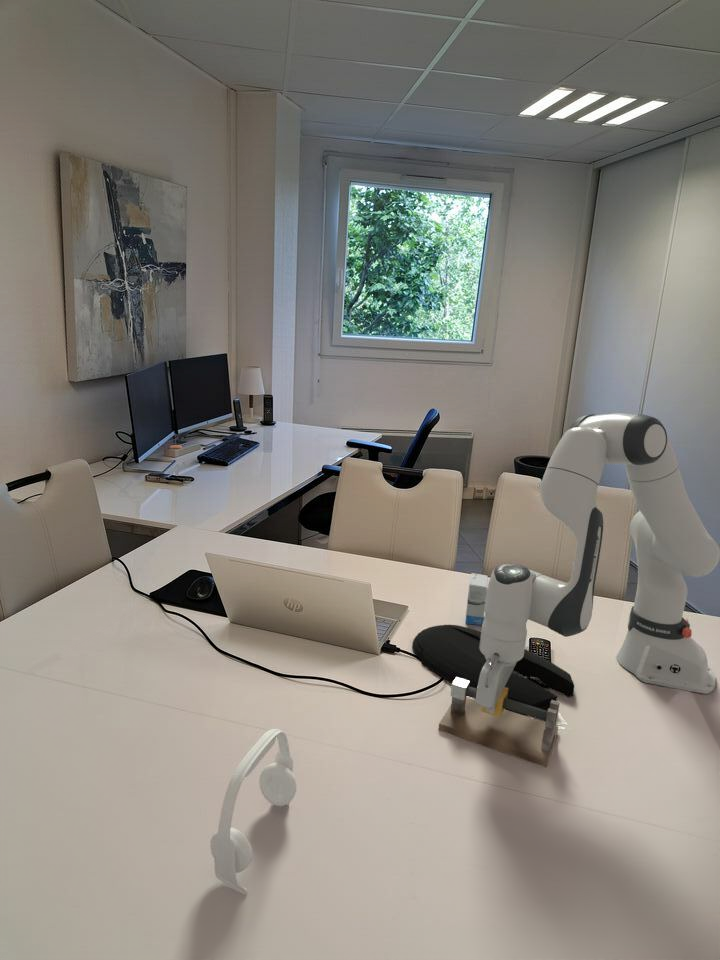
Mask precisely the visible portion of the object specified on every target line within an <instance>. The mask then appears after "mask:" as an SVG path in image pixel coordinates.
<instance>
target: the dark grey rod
mask: <svg viewBox="0 0 720 960" xmlns="http://www.w3.org/2000/svg"><path fill="white" fill-rule="evenodd" d="M476 693H477V689H476V688H473V687H470V686H468V687H467V689H466V696H467V697H468V698H471V699H474V700H476ZM503 708H506V709H509V710H512V711H515V712H518V713H521V714H524V715H527V717H530V718H533V719H536V720H539V721H542V722H546V717H547V711H546V710H542V709H539V708H536V707H533V706H530V705H527V704H523V703H520V702H517V701H514V700H511V699H508V698H504V700H503ZM556 719H557V714H556ZM556 719H555V723H556ZM557 720H558V719H557Z"/></svg>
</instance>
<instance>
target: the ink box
mask: <svg viewBox="0 0 720 960" xmlns="http://www.w3.org/2000/svg"><path fill="white" fill-rule="evenodd" d="M488 578H489V577H488V575H486V574H481V573H479V574H478V573H474V572H472V573H470V577H469V579H470V580H469V584H468V585H469V586H468V594H467V600H466V601H467V603H466V610H465V611H466V612H465V624H467V625H475V626H481V627H482V624H483V621H484V619H485V610H484V606H485V599H486V593H487V588H488V582H489V581H488Z"/></svg>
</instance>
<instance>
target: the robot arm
mask: <svg viewBox="0 0 720 960" xmlns="http://www.w3.org/2000/svg"><path fill="white" fill-rule="evenodd" d="M607 464H608V465H624V469H625V473H626V477H627V480H628V484H629V487H630V491H631V494H632V497H633V501H634V503H635V505H636V508H637V509H638V512H636V513H635V514H634V515H633V517H632V519H631V521H630V523H629V532H630V535H631V537H632V539H633V543H634V546H635V553H636V561H637V586H636V592H635V596H634V603H633V605H632V607H631V609H630V611H629V614H628V619H627V620H628V622H627V633H626V635H625V638H624V641H623V643H622V645H621V647H620V649H619V650H618V652H617V654H616V659H617V661H618V663H619V665H621V666H622V667H623V668H624V669H626V670H627V671H629V672H630V673H632V674H633V675H635V677H637V679H638V680H639V681H640V682H642V683H647V684H652V685H656V686H662V687H667V688H673V689H678V690H683V691H690V692H695V693H700V694H705V695H707V694H710V693H712V692H713V691H714V690H715V687H716V675H715V673H714V671H713V669H712V668H711V666H709V665H708V658H707V654H706V652H705V650H704V648H703V646H701V645H700V644H699V643H698V642H697V641H696V640H694V639H693V637H692V636H693V635H692V634H693V633H692V629H691V628H690V627H691V624H690V622H689V619H688V618H686V619H685V618H684V617H683V615H684V610H685V606H686V602H687V595H688V587H687V583H686V581H685V580H684V576H683V575H686V576H689V577H692V578H701V577H705V576H706V575H708V574H710V573H711V572H712V571H714V570H715V569H716V567H717V566H718V564H719V561H720V547H719V545H718V543H717V542H716V541H715V539H713V538H712V536H711V535H710V534H709V532H708V531H707V529H706V527H705V525H704V524H703V522H702V520H701V519H700V516H699V514H698V513H697V511H696V509H695V507H694V505H693V503H692V502H691V499H690V498H689V495H688V493H687V490H686V488H685V484H684V480H683V477H682V473H681V469H680V466H679V463H678V459H677V456H676V453H675V450H674V447H673V445H672V443H671V441H670V439H669V437H668V433H667V430H666V428H665V426H664V424H663V423H662V422H661V420H659V419H658V418H656V417H655V416H652V415H651V416H650V415H647V414H633V413H632V414H631V413H623V412H622V413H621V412H619V413H618V412H616V413H615V412H614V413H604V414H587V415H583V416H580V417H578V418H577V419H575V420H574V421H573V422H572V424H571V425H570V427H569V429H567V431H565V432H564V434H562V436H561V438H560V439H559V441H558V443H557V445H556V447H555V448H554V450H553V452H552V454H551V457H550V458H549V461H548V463H547V466H546V469H545V472H544V474H543V477H542V478H541V483H540V487H539V494H540V495H539V496H540V499H541V502H542V504H543V506H544V507H545V509H547V511H548V512H549V513H550V514H551V515H553V516H554V518H556V519H557V520H558V521H560V522H561V523H562V524H564V525H565V526H566V527H567V528H568V529H570V531H571V532H572V533H573V535H574V537H575V541H576V542H575V543H576V546H575V552H574V557H573V563H572V569H571V575H570V580H569V581H568V582H565V581H561V580H559V579H555V578H553V577H551V576H547V575H544V574H543V573H540V572H538V571H534V570H531V569H528V568H527V567H526V566H525V565H522V564H520V563H519V564H518V563H514V562H513V563H511V562H508V563H503V564H500V565H498V566H496V567H495V568H494V569H493V570H492V572H491V575H490V578H489V581H488V583H487V593H486V599H485V606H484V610H485V611H484V619H483V624H482V626H481V631H480V632H481V638H480V646H479V648H480V651H481V652H482V654H483V655H485V658H486V660H487V661H486V663H485V664H484V666H483V668H482V670H481V673H480V677H479V682H478V687H477V693H476V699H475V700H476V704H477V705H478V706H481V707H484V708H486V709H485V710H486V711H487V712H489V713H492V714H493V713H494V712H495V709H496V704H497V701H498V699H499V697H500V695H501V693H502V691H503V689H504V687H505V685H506V683H507V681H508V679H509V677H510V675H511V673H512V672H514V671H513V669H514V667H515V665H516V663H517V661H519V660H521V659H522V658H523V656H524V650H525V649H526V644H527V636H528V629H527V623H528V620H529V621H531V622H534V623H536V624H538V625H542V626H543V627H546V628H548V629H549V630H550V631H553V632H555V633H557V634H559V635H561V636H562V637H565V638H566V637H573V636H575V635H579V634H581V633H582V632H584V631H586V630H587V628H588V627H589V625H590V621H591V619H592V617H593V606H594V596H595V595H594V593H595V584H596V579H597V572H598V567H599V562H600V561H599V560H600V556H601V555H600V554H601V550H602V549H601V548H602V541H603V532H604V516H603V513H602V511H601V510H600V509H599V508H598V507H597V506H598V505H597V490H598V488H599V485H600V481H601V479H602V475H603V471H604V468H605V467H604V466H605V465H607Z"/></svg>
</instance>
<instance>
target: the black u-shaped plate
mask: <svg viewBox="0 0 720 960" xmlns="http://www.w3.org/2000/svg"><path fill="white" fill-rule="evenodd" d="M480 638H481V631H480V630H477V629H475V628H474V629H473V628H470V627H466V626H463V625H459V624H442V625H441V624H440V625H434V626H429V627H427V628H425V629H423V630H421V631H420V632H418V633H417V634H416V636H415V637H414V638H413V641H412V646H411V647H412V650H413V653H414V654H415V656H416V657H417V658H418V659H420V660H421V664H422V665H423V666H424V667H425V668H427V670H429V671H431V672H432V673H434V674H435V675H437V676H439V677H440V678H442V679H443V680H445V681H446V682H449V683H450V684H452V683H453V681H454V680H455V678H456V677H458V678H462V679H465V680H468V681H470V685H469V686H470V687H473V688H476V689H477V687H478V682H479V677H480V673H481V670H482V668H483V666H484V664H485V663H486V661H487V660H486V658H485V655H483V654H482V652H481V651H480V648H479V646H480ZM529 676H534V677H537V678H539V679H540V680H541V681H543V683H545V684H546V686H545V687H547V688H549V689H551V690H554V692H555V691H556V692H558V693H559V694H561V695H563V696H566V697H568V698H571V697H573V696H574V690H575V684H574V681H573V678H572V676H571V674H570V673H569V672H567V671H566V670H564V669H563V668H561V667H559V666H558V665H556V664H554V663H553V662H551V661H549V660H547V659H546V658H544V657H541V656H540V655H538V654H536V653H534V652H532V651H530V650H528V649H527V648H525V650H524V656H523V658H522V659H521V660H519V661H517V663H516V665H515V667H514V669H513V671H512V673H511V675H510V677H509V679H508V681H507V683H506V685H505V687H507V688H508V694H507V698H508V699H511V700H514V701H517V702H520V703H523V704H527V705H530V706H533V707H536V708H539V709H542V710H546V711H548V708H550V703H551V700H554V701H558V696H557V695H555V694H554V693H553V692H551V691H549V690H548V689H545V687H543V686H541V685H539V683H537V682H535V681H533V680H532V679H530V678H528V677H529ZM505 710H508V711H511V712H514V713H517V714H521V713H518V712H515V711H512V710H509V709H506V708H505ZM521 715H524V714H521ZM524 716H527V715H524ZM527 717H528V716H527Z"/></svg>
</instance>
